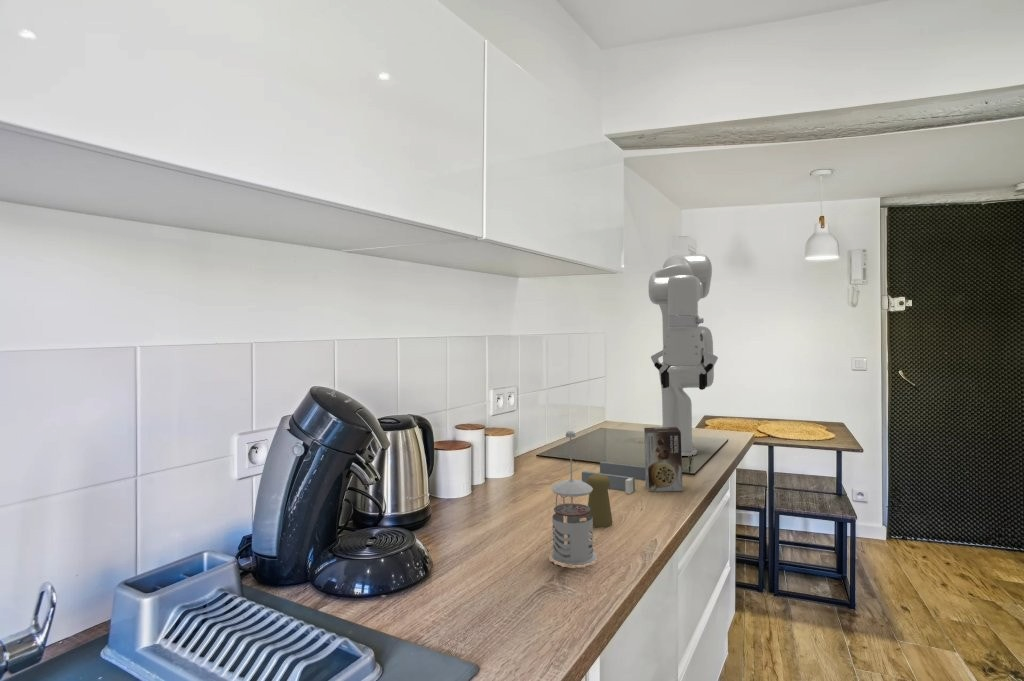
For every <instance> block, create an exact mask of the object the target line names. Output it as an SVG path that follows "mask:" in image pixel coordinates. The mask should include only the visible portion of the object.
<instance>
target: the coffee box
mask: <svg viewBox="0 0 1024 681" xmlns="http://www.w3.org/2000/svg"><path fill="white" fill-rule="evenodd" d="M643 429H644V436H643V437H644V463H645V464H644V467H645V473H646V480H645V487H646V489H647V491H648V492H649V491H651V492H683V488H684V487H683V460H682V458H683V457H682V453H681V431H680V430H679V429H678V428H677V427H663V426H661V427H659V426H658V427H644V428H643Z"/></svg>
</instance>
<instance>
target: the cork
mask: <svg viewBox="0 0 1024 681" xmlns="http://www.w3.org/2000/svg"><path fill="white" fill-rule="evenodd" d="M587 484H588V485H590V486H591V487H592V488H593V490H592V492H591V493H590V494H588V499H587V500H588V501H587V506H589V508H590V509H591V510H590V512H589V514H591V515H592V517H593V526H595V527H594V528H597V527H603V528H608V527H607V526H609V527H611V526H612V525H613V524H614V522H613V516H612V510H611V501H610V496H609V489H610V488H609V487H610V479H609V477H608V476H606V475H604V474H593V475H590V476H589V477H588V479H587ZM585 519H586V520H585V521H589V520H590V519H589V518H585ZM612 523H613V524H612ZM610 525H611V526H610Z"/></svg>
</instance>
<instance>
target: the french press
mask: <svg viewBox="0 0 1024 681" xmlns="http://www.w3.org/2000/svg"><path fill="white" fill-rule="evenodd" d="M565 438H569V450H570V451H569V454H570V458H569V459H570V478H569V479H567V480H566V479H564V480H561V481H559V482H557V483H554V484H553V485H552V486H551V487H550V489H551V492H552V493H554V494H556V497H555V507H554V508H553V510H554V512H555V513H553V515H552V518H551V520H552V521H551V522H552V537H553V538H552V552H551V553H550V554H551V556H552V558H553V559H554V560H556V561H558V562H561V563H565V564H572V565H584V564H587V563H591V562H592V561H594V560H595V559H596V555H597V554H596V552H594V536H593V532H594V527H593V517H592V515H591V514H589V512H590V510H591V509H590V508H589V506H588V505H586V504H583V503H582V504H581V503H574V502H573V499H574V498H573V497H583V496H587V495H588V496H589V494H590V493H591V492H592V490H593V488H592V487H591V486H590V485H588V484H587V483H585V482H582V480H578V479H573V464H572V461H573V459H572V458H573V457H572V456H573V455H572V452H573V451H572V438H576V432H575V430H567V431H566V433H565ZM559 496H560V497H561V498H563V499H562V500H563V503H561V504H558V497H559ZM568 497H571V498H570V500H571V501H570V502H568V503H566V502H565V498H568ZM583 518H585V519H586V518H589V519H590V520H589V521H586V520H581V521H580V519H583ZM564 519H565V520H564ZM564 521H566V522H564ZM589 533H590V534H589ZM565 535H567V537H565ZM589 539H590V540H589ZM565 542H566V543H567V544H565Z"/></svg>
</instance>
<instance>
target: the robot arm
mask: <svg viewBox="0 0 1024 681" xmlns="http://www.w3.org/2000/svg"><path fill="white" fill-rule="evenodd" d="M712 274H713V266H712V262H711V259H710V258H709V257H708V256H707V255H705V254H701V253H700V254H678V255H673V256H671V257H668V258H667V259H666V260H665V261H664V263H663V264H662V268H661V269H658V270H655V271H654V272H653V273H652V274H650V276H649V280H648V297H649V300H650V302H651V303H652V304H653V305H654V304H655V305H658V306H659V308H660V312H661V316H662V350H660V351H658V352H656V353H655V354H652V355H651V356H650V359H651V361H652V363H653V364H654V367H655V368H656V369H657V370H658V375H659V381H660V388H661V401H662V403H661V405H662V406H661V408H662V409H661V411H662V413H661V414H662V427H677V428H678V429H679V430H680V431H681V453H682V456H688V457H693V456H696V455H697V454H698V450H697V448H695V447H693V416H692V415H693V414H692V413H693V412H692V411H693V409H692V408H693V406H692V404H693V403H692V400H691V398H690V396H689V394H688V393H686V391H685V390H684V389H689V388H692V389H693V388H695V389H696V388H697V389H699V390H701V391H703V390H705V389H706V388H710V387H712V385H713V384H714V378H715V372H714V370H715V368H714V367H715V365H716V363H717V361H718V359H719V357H718V356H717V355H714V341H713V335H712V332H711V330H710V328H708V327H707V326H702V325H700V324H704V318H703V317H700V316H699V306H698V305H699V301H700V300H701V299H704V298H707V297H708V295H709V293H710V287H711V281H712ZM661 357H662V362H660V360H659V359H660V358H661ZM692 455H693V456H692Z"/></svg>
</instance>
